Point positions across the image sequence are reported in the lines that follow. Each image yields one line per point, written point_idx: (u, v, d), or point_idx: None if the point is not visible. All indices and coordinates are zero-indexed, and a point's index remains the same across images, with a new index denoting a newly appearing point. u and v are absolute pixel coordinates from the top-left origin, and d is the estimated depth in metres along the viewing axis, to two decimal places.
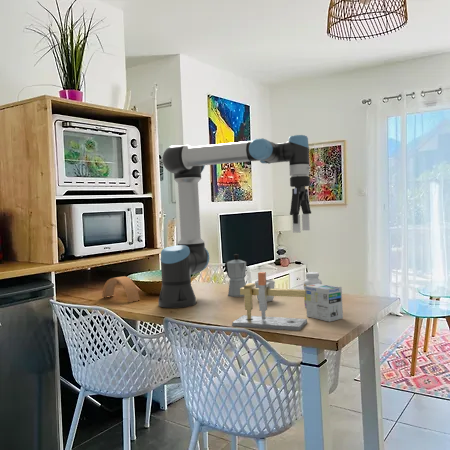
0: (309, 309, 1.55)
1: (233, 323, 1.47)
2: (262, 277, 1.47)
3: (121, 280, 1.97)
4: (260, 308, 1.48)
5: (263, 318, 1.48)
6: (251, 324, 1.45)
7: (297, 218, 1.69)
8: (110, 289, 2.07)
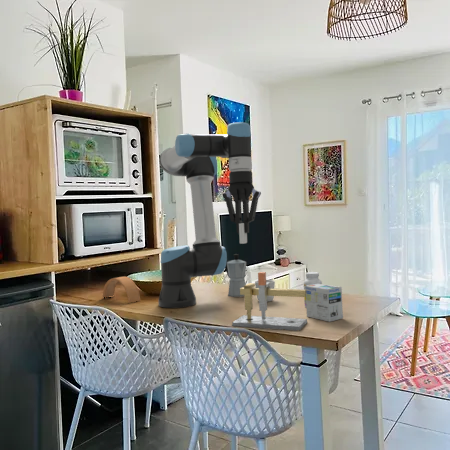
0: (309, 309, 1.55)
1: (233, 323, 1.47)
2: (262, 277, 1.47)
3: (122, 280, 1.97)
4: (260, 308, 1.48)
5: (263, 318, 1.48)
6: (251, 324, 1.45)
7: (238, 227, 1.50)
8: (111, 289, 2.06)
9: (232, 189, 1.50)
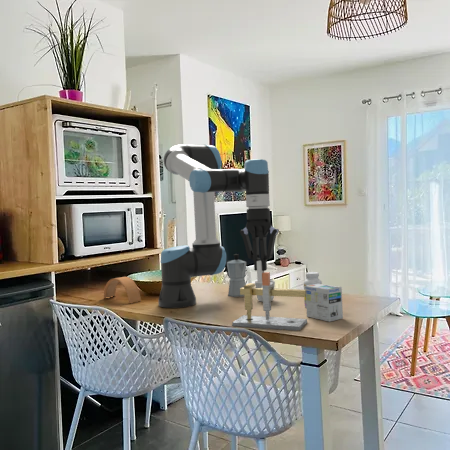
0: (309, 309, 1.55)
1: (233, 323, 1.47)
2: (266, 277, 1.46)
3: (122, 280, 1.96)
4: (264, 308, 1.47)
5: (267, 318, 1.48)
6: (251, 324, 1.45)
7: (255, 264, 1.48)
8: (112, 289, 2.06)
9: (249, 226, 1.48)
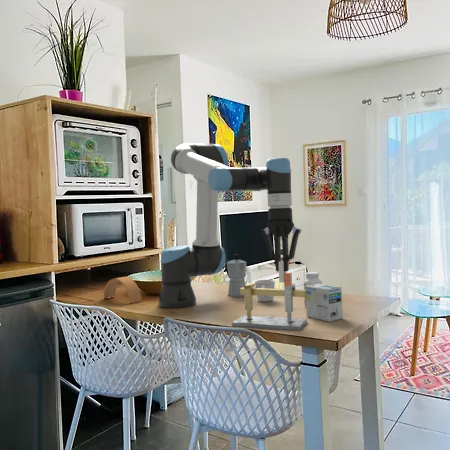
0: (309, 309, 1.55)
1: (233, 323, 1.47)
2: (288, 278, 1.44)
3: (123, 281, 1.95)
4: (286, 309, 1.44)
5: (289, 320, 1.45)
6: (251, 324, 1.45)
7: (277, 265, 1.45)
8: (112, 289, 2.05)
9: (271, 226, 1.45)
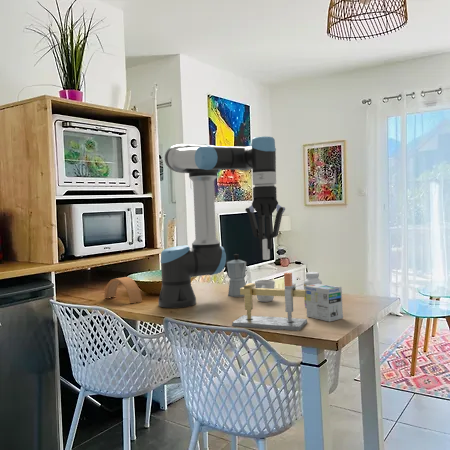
0: (309, 309, 1.55)
1: (233, 323, 1.47)
2: (288, 278, 1.44)
3: (123, 281, 1.95)
4: (286, 309, 1.44)
5: (289, 320, 1.45)
6: (251, 324, 1.45)
7: (261, 243, 1.47)
8: (112, 289, 2.05)
9: (255, 204, 1.47)
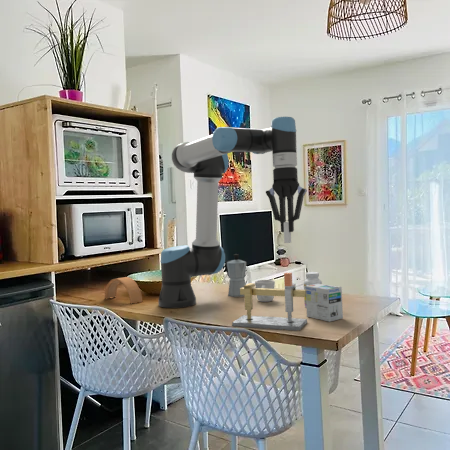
0: (309, 309, 1.55)
1: (233, 323, 1.47)
2: (288, 278, 1.44)
3: (124, 281, 1.95)
4: (286, 309, 1.44)
5: (289, 320, 1.45)
6: (251, 324, 1.45)
7: (282, 226, 1.44)
8: (112, 290, 2.04)
9: (276, 186, 1.44)
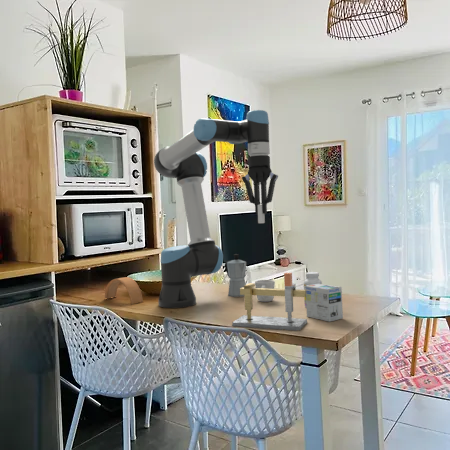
0: (309, 309, 1.55)
1: (233, 323, 1.47)
2: (288, 278, 1.44)
3: (124, 281, 1.94)
4: (286, 309, 1.44)
5: (289, 320, 1.45)
6: (251, 324, 1.45)
7: (256, 208, 1.61)
8: (113, 290, 2.04)
9: (251, 172, 1.60)
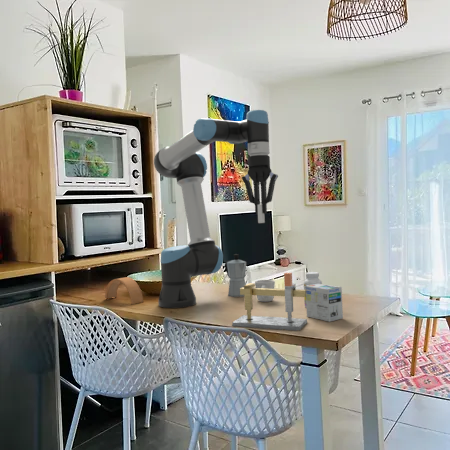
0: (309, 309, 1.55)
1: (233, 323, 1.47)
2: (288, 278, 1.44)
3: (124, 281, 1.94)
4: (286, 309, 1.44)
5: (289, 320, 1.45)
6: (251, 324, 1.45)
7: (256, 208, 1.61)
8: (113, 290, 2.04)
9: (251, 172, 1.60)
